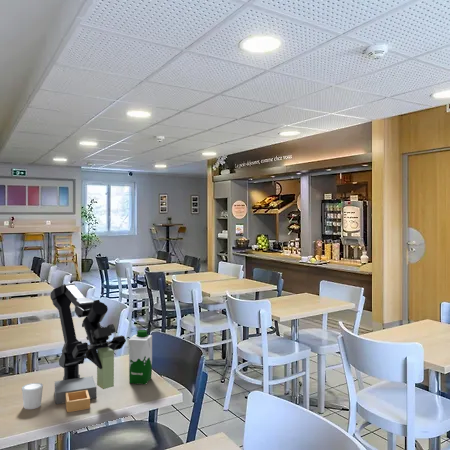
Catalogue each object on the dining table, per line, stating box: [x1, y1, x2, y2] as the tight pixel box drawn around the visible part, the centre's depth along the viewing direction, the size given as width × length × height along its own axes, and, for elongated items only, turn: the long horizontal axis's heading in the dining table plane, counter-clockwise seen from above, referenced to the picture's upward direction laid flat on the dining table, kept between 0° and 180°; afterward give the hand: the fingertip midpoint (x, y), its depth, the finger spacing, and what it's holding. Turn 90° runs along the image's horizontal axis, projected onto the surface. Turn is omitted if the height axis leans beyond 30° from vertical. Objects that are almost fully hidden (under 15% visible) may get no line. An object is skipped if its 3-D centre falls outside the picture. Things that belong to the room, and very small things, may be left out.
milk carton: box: [128, 329, 153, 385], centre depth 175 cm, size 9×9×20 cm
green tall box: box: [96, 347, 115, 390], centre depth 153 cm, size 5×4×13 cm
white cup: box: [21, 382, 44, 410], centre depth 151 cm, size 7×7×7 cm
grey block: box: [54, 375, 97, 413], centre depth 157 cm, size 21×14×4 cm
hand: (107, 367), depth 152 cm, fingers closed on green tall box, 4 cm apart
